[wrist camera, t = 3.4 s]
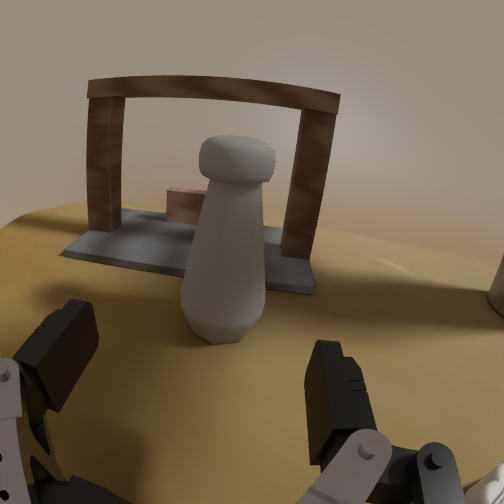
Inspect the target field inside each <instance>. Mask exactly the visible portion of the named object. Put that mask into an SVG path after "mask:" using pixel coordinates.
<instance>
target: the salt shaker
mask: <svg viewBox="0 0 504 504" xmlns="http://www.w3.org/2000/svg"><path fill="white" fill-rule="evenodd" d="M275 163H276V161H275V150H274V149H273V147H272V146H271V145H270V144H269V143H267V142H264V141H262V140H259V139H255V138H249V137H241V136H215V137H211V138H208V139H207V140H206V141H204V142H203V143H202V146H201V149H200V153H199V169H200V172H201V174H202V175H203V176H205V177H207V178H209V179H210V181H209V185H208V188H207V192H206V195H205V199H204V202H203V206H202V210H201V213H200V217H199V220H198V224H197V228H196V232H195V235H194V239H193V243H192V247H191V251H190V255H189V259H188V263H187V267H186V271H185V275H184V279H183V283H182V287H181V291H180V300H181V307H182V312H183V314H184V316H185V317H186V319H187V321H188V323H189V325H190V327H191V329H192V330H193V332H194V333H196V334H197V335H199V336H201V337H202V338H204V339H205V340H207V341H208V342H210V343H211V344H223V343H236V342H239V341H240V340H241V339H242V337H243V336H244V335H245V334H246V333H247V332H248V330H249V329H250V328H251V327H252V326H253V325H254V324H255V323H256V322H257V321H258V320H259V319H260V318H261V315H262V312H263V308H264V304H265V268H264V233H263V204H262V203H263V202H262V183H263V182H268V181H269V180H270V179H271V177H272V175H273V173H274V168H275Z"/></svg>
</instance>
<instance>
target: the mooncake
mask: <svg viewBox="0 0 504 504" xmlns="http://www.w3.org/2000/svg"><path fill="white" fill-rule="evenodd" d="M464 497H465V502H466V504H504V461H503V462H502V463H501V464H500V465H498V466H497V467H496V468H495V469H493V470H492V471H491V472H490V473H488V474H487V475H486V476H485V477H484V478H482V479H481V480H480V481H478V482H477V483H476V484H474V485H473V486H472V487H471V488H469V489H468V491H467V492H466V494H465V496H464Z"/></svg>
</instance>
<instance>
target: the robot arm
mask: <svg viewBox="0 0 504 504" xmlns="http://www.w3.org/2000/svg"><path fill="white" fill-rule="evenodd" d="M487 297H488V300H489V302H490V303H491V305H492V306H493V307H494V308H495V309H496V310H497V311H498V312H499V313H500V314H501V315H502V316H504V255H503V258H502V260H501V263H500V266H499V268H498V270H497V273H496V275H495V278H494V280H493V282H492V285H491V287H490V289H489V292H488V294H487ZM98 342H99V334H98V330H97V325H96V321H95V316H94V311H93V306H92V304H91V303H89V302H85V301H81V300H77V299H71V300H69V301H68V303H67V304H66V305H65V306H64V307H63V308H62V309H58V310H56V311H55V312H53V313H51V314H50V315H48V316H47V317H46V318H45V319H44V321H43V322H42V323H41V325H40V326H38V327H37V329H36V330H35V332H34V333H32V334H31V336H30V337H29V338H28V339H27V340H26V342H25V343H24V344H23V345H22V346H21V348H20V349H19V350H18V351H17V352H16V354H15V355H14V356H13V357H12V358H0V504H131V503H129V502H128V501H126V500H124V499H122V498H121V497H119V496H117V495H116V494H114V493H112V492H111V491H109V490H108V489H106V488H104V487H102V486H99V485H96V484H94V483H91V482H89V481H86V480H84V479H81V478H79V477H77V476H74V475H72V476H71V479H70V481H66V480H65V477H64V475H63V473H62V471H61V469H60V467H59V466H58V464H57V461H56V458H55V454H54V450H53V446H52V442H51V437H50V432H49V427H48V422H47V418H46V415H45V413H46V411H47V409H50V410H52V411H55V412H57V413H59V412H60V410H61V408H62V407H63V405H64V403H65V401H66V400H67V398H68V396H69V394H70V393H71V391H72V389H73V387H74V386H75V384H76V382H77V381H78V379H79V377H80V376H81V374H82V372H83V371H84V369H85V367H86V366H87V364H88V363H89V361H90V359H91V358H92V356H93V354H94V353H95V351H96V349H97V347H98ZM304 389H305V401H306V414H307V427H308V442H309V458H310V465H320V469H321V475H320V476H319V477H318V478H317V480H316V481H315V482H314V483H313V484H312V486H311V487H310V488H309V489H308V490H307V491H306V493H305V494H304V495H303V496H302V497H301V498H300V499H299V500H298V502H297V503H296V504H364V503H365V502H366V503H372V504H466V502H465V497H464V493H463V488H462V484H461V480H460V476H459V472H458V469H457V465H456V461H455V458H454V455H453V453H452V452H451V450H450V449H449V448H448V447H447V446H445V445H443V444H441V443H436V442H432V443H428V444H426V445H424V446H423V447H422V448H421V449H420V450H419V451H417V450H411V449H406V448H401V447H396V446H393V445H391V443H390V441H389V440H388V439H387V437H386V436H385V435H383V434H382V433H380V432H378V431H377V428H376V424H375V420H374V416H373V412H372V408H371V404H370V400H369V397H368V393H367V392H366V390H367V389H366V386H365V382H364V378H363V375H362V371H361V368H360V367H359V365H358V364H357V363H356V361H355V360H354V359H353V358H352V357H344V356H343V352H342V348H341V344H340V342H339V341H327V340H317V341H316V343H315V346H314V349H313V352H312V355H311V358H310V361H309V364H308V367H307V370H306V374H305V380H304Z"/></svg>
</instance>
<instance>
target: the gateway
mask: <svg viewBox="0 0 504 504" xmlns="http://www.w3.org/2000/svg"><path fill="white" fill-rule="evenodd" d="M135 97H174V98H201V99H217V100H229V101H239V102H249V103H259V104H266V105H273V106H281V107H288V108H294V109H300V110H302V111H301V118H300V125H299V131H298V138H297V145H296V152H295V159H294V164H293V171H292V177H291V183H290V190H289V196H288V202H287V208H286V214H285V220H284V226H283V228H276V227H269V226H263V233H264V268H265V289H271V290H279V291H287V292H295V293H303V294H312V295H314V292H315V288H316V286H315V282H314V278H313V273H312V269H311V265H310V261H309V259H310V254H311V250H312V245H313V241H314V236H315V231H316V226H317V221H318V217H319V212H320V206H321V201H322V196H323V191H324V186H325V180H326V175H327V169H328V164H329V158H330V152H331V145H332V139H333V134H334V128H335V121H336V115H337V114H338V108H339V102H340V94H337V93H333V92H328V91H323V90H318V89H312V88H307V87H301V86H295V85H289V84H282V83H275V82H267V81H259V80H250V79H240V78H228V77H227V78H226V77H211V76H183V75H182V76H181V75H180V76H179V75H173V76H172V75H169V76H168V75H162V76H131V77H116V78H104V79H95V80H89V81H88V91H87V98H89V109H88V124H87V125H88V126H87V157H86V160H87V161H86V164H87V165H86V169H87V205H88V221H89V230H88V231H87V232H86V233H84V234H83V235H82V236H80V237H79V238H78V239H76V240H75V241H74V242H72V243H71V244H70V245H69V246H67V247H66V248H65V249H64V256H65V257H70V258H75V259H80V260H86V261H91V262H97V263H102V264H108V265H114V266H119V267H125V268H131V269H137V270H143V271H149V272H155V273H161V274H167V275H174V276H180V277H184V275H185V271H186V267H187V263H188V259H189V255H190V251H191V247H192V243H193V239H194V235H195V232H196V228H197V224H198V220H199V217H200V213H201V210H202V206H203V202H204V199H205V195H206V192H207V191H200V190H192V189H182V188H172V187H171V188H169V189H168V190H167V209H166V213H159V212H150V211H141V210H132V209H122V208H121V161H122V159H121V157H122V137H123V121H124V120H123V119H124V108H125V98H135Z"/></svg>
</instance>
